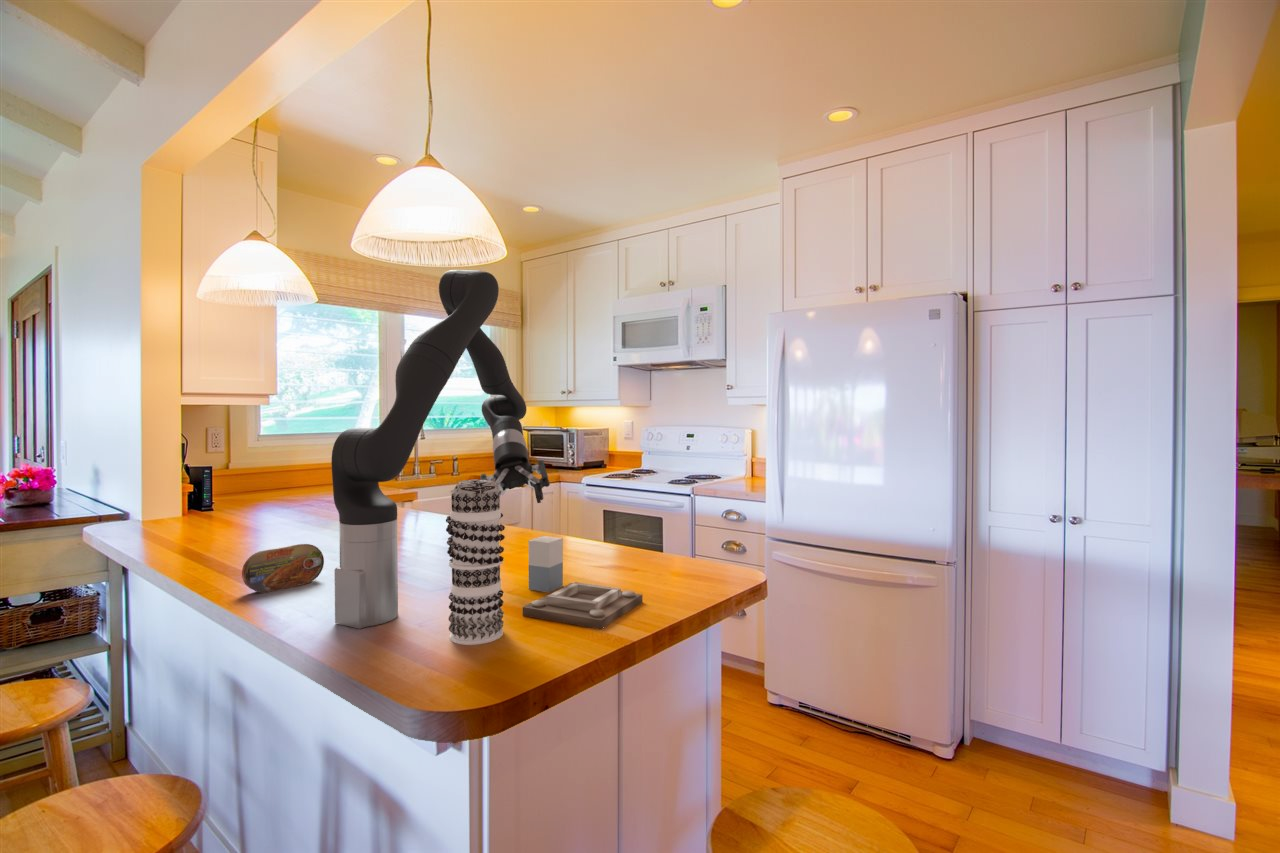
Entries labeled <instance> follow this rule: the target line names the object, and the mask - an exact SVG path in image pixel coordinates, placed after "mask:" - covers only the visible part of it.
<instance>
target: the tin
mask: <svg viewBox="0 0 1280 853" xmlns="http://www.w3.org/2000/svg"><path fill="white" fill-rule="evenodd" d="M324 565H325V559H324V554H323V553H322V551H321V549H320V548H318V547H317V546H316V545H313V544H310V543H300V544H293V545H288V546H282V547H277V548H271V549H270V548H269V549H265V550H264V549H263V550H261V551H260V550H259V551H258V552H255V553H253V554H252V555H251V556H249V557H248V558H247V560H246V561H245V562H244V564H243V567H242V569H241V570H242V571H241V578H242V581H243V583H244V584H245V585H246V586H247V588H249V589H250V590H253V591H254V592H257V593H262V594H266V593H267V594H268V593H271V592H277V591H280V590H285V589H289V588H294V587H298V586H304V585H307V584H309V583H311V582H313V581H315V580H316V579H317V578H318V577H319V576H320V574H322V571H323V569H324Z"/></svg>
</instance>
